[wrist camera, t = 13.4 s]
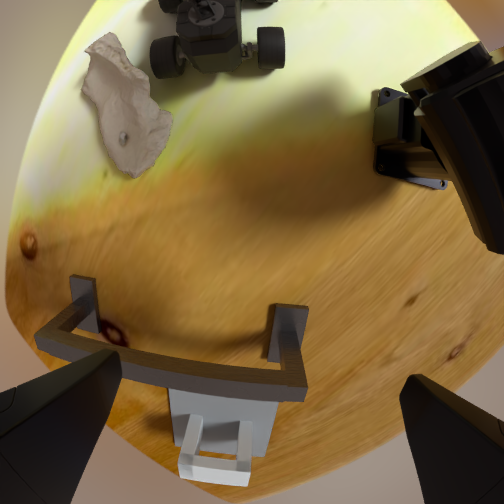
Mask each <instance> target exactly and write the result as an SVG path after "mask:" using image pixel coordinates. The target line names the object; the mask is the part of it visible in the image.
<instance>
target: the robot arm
mask: <svg viewBox="0 0 504 504" xmlns="http://www.w3.org/2000/svg"><path fill="white" fill-rule="evenodd" d="M400 85H401V86H402V88H403V89H404V90H405V92H408V94H406V93H403V92H400V91H397V90H394V89H391V88H387V87H384V88H382V89H380V91H379V98H378V108H376V109H375V116H374V130H373V144H374V145H375V154H374V163H373V169H374V172H375V173H376V174H379V175H383V176H388V177H392V178H396V179H401V180H405V181H409V182H413V183H417V184H421V185H424V186H428V187H432V188H436V189H439V190H445V189H446V187H447V183H448V181H452V182H453V184H454V186H455V188H456V190H457V193H458V195H459V197H460V199H461V202H462V204H463V206H464V209H465V211H466V213H467V216H468V218H469V221H470V223H471V226H472V228H473V231H474V234H475V235H476V236H477V237H478V238H479V239H480V240H481V241H482V242H483V243H484V244H486V247H487V249H488V250H489V251H492V252H495V253H497V254H502V255H504V46H503V47H501V48H499V49H496V50H494V51H492V52H490V53H488V52H487V50H486V49H485V47H484V46H483V44H482V43H481V41H476V42H470V43H467V44H465V45H464V46H462V47H460V48H458V49H456V50H454V51H452V52H450V53H449V54H447V55H445V56H443V57H442V58H440V59H439V60H437V61H435V62H434V63H432V64H431V65H429V66H427V67H426V68H424V69H423V70H421V71H420V72H418V73H416V74H415V75H413V76H412V77H410V78H409V79H407V80H406V81H404V82H403V83H401V84H400ZM384 92H386V93H387V94H388V97H386V96H385V95H384ZM380 164H381V165H382V166H383V169H382V170H381V171H380V170H379V165H380ZM441 181H442V186H441V185H440V182H441ZM121 379H122V367H121V361H120V355H119V352H118V351H117V350H114V349H110V348H104V349H102V350H99V351H97V352H95V353H93V354H90V355H88V356H86V357H84V358H81V359H79V360H77V361H75V362H72V363H70V364H68V365H65V366H63V367H61V368H59V369H56V370H54V371H52V372H49V373H47V374H45V375H42V376H40V377H38V378H35V379H33V380H30V381H28V382H26V383H23V384H21V385H18V386H17V388H16V387H14V388H11V389H9V390H6V391H4V392H1V393H0V504H70V503H71V501H72V498H73V496H74V493H75V491H76V488H77V486H78V484H79V481H80V479H81V477H82V474H83V472H84V470H85V467H86V465H87V463H88V460H89V458H90V456H91V454H92V452H93V449H94V447H95V445H96V443H97V440H98V438H99V436H100V434H101V432H102V430H103V428H104V425H105V423H106V421H107V419H108V417H109V414H110V411H111V408H112V405H113V402H114V399H115V396H116V393H117V390H118V387H119V385H120V382H121ZM399 400H400V405H401V410H402V414H403V419H404V424H405V430H406V434H407V439H408V442H409V446H410V449H411V452H412V456H413V459H414V463H415V466H416V470H417V474H418V478H419V481H420V486H421V490H422V494H423V498H424V503H425V504H504V422H503V421H501V420H500V419H497V418H496V417H494V416H493V415H491V414H489V413H487V412H486V411H484V410H482V409H480V408H479V407H477V406H475V405H473V404H472V403H470V402H468V401H466V400H465V399H463V398H461V397H459V396H458V395H456V394H455V393H453V392H451V391H449V390H448V389H446V388H444V387H443V386H441V385H439V384H437V383H436V382H434V381H432V380H431V379H429V378H427V377H426V376H424V375H422V374H412V375H410V376H409V377H408V378H407V380H406V382H405V384H404V387H403V389H402V391H401V393H400V397H399Z"/></svg>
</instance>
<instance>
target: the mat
mask: <svg viewBox="0 0 504 504" xmlns="http://www.w3.org/2000/svg"><path fill="white" fill-rule="evenodd" d="M169 397H170V407H171V416H172V425H173V433H174V440H175V446H180V447H182V444H183V440H184V437H185V433H186V429H187V425H188V421H189V418H190V414H195V415H201V416H203V435H202V440H201V445H200V450H203V451H209V452H217V453H225V454H234V455H236V453H237V442H238V433H239V425H240V420H241V421H253V425H252V452H251V456H259V457H264V456H265V453H266V449H267V446H268V442H269V438H270V434H271V431H272V427H273V423H274V419H275V415H276V411H277V407H278V403H279V402H270V401H256V400H245V399H235V398H227V397H219V396H211V395H204V394H198V393H192V392H186V391H180V390H175V389H169Z"/></svg>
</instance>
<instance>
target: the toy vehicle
mask: <svg viewBox="0 0 504 504" xmlns="http://www.w3.org/2000/svg"><path fill="white" fill-rule="evenodd" d="M158 1H159V4H160V7H161V9H162V11H163V12H164V13H169V12H175V11H177V14H178V19H177V24H176V25H177V28H176V32H177V33H178V35H179V36H170V37H164V38H160V39H156V40H154V41H153V42H152V44H151V47H150V64H151V68H152V71H153V73H154V75H155V77H156V78H158V79H164V78H171V77H176V76H180V75H182V74H183V71H184V66H185V58H186V60H187V61H188V62H189V63H190V64H192V65H193V67H195V68H196V69H197V70H199V71H200V72H201V73H203V74H207V73H217V72H229V71H233V70H234V69H235V68H236V67H238V66H239V65H240V64H241V63H242V60H247V59H249V58H252V57H253V53H252V51H258V64H259V68H260V69H280V68H284V65H285V37H284V30H283V28H282V27H258V28H257V45H252V43H251V42H247V46H245V45H244V44H241V43H242V30H241V0H158ZM255 1H256V2H277V1H278V0H255ZM242 50H244V51H245V56H242Z"/></svg>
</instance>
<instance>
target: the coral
mask: <svg viewBox="0 0 504 504" xmlns="http://www.w3.org/2000/svg"><path fill="white" fill-rule="evenodd" d="M84 52H86V53H88V54H89V55H90V63H89V68H88V73H87V75H86V78H85V80H84V84H83V86H82V88H81V90H82V91H83V93H84V94H86V95H88V96H89V97H90V98H91V100H92V101H93V102H94V103H95V104H96V106H97V109H98V112H99V125H100V131H101V134H102V136H103V142H104V145H105V146H106V148H107V150H108V155H109V157H110V158H112V159H113V161H114V162H115V164H116V166H117V167H118V169H119V170H120V171H122V172H123V173H124V174H125V173H128V174H129V175H130V176H131V177H132V178H137V177H139V176H140V175H141V174H142V173H143V172H144V171H145V170H147V169H149V168H150V167H151V166H154V164H155V160H156V159H157V158H158V156H159V155H160V154H161V152H162V151H163V149H164V148H165V146H166V143H167V141H168V138H169V136H170V130H171V126H172V123H173V117H172V114H171V113H170V112H168V111H165V110H161V109H159V107H158V105H157V103H156V102H155V101H153V99H152V98H151V97H150V96H149V94H150V83H149V76H147V75H146V74H145V73H144V72H143V71H142V70H139V69H137V68H134V67H133V65H132V64H131V63H130V61H129V59H128V58H127V56H126V54H125V50H124V49H123V48H122V44H121V43H120V41H119V40H118V37H117V36H116V35H115V34H114V33H111V32H109V33H108V34H106V35H104V36H103V37H101V38H99V39H98V40H97V41H95V42H94V43H93V44H91V45H90V46H89V47H88V48H87V49H86V50H85V51H84Z"/></svg>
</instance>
